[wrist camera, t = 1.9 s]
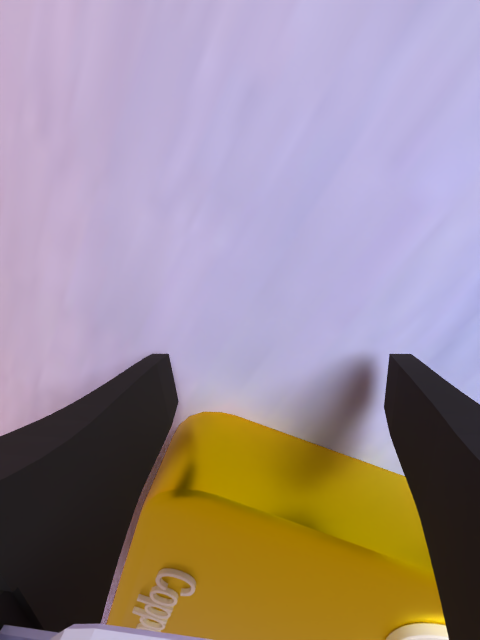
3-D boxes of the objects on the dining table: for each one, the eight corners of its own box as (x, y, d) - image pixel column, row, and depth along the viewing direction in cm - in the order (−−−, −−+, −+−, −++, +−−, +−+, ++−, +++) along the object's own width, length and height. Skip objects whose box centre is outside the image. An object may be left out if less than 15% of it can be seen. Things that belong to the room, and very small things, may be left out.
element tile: (188, 391, 15) (144, 489, 11) (521, 511, 15) (608, 655, 11) (129, 571, 22) (88, 674, 18) (357, 651, 22) (372, 773, 18)
